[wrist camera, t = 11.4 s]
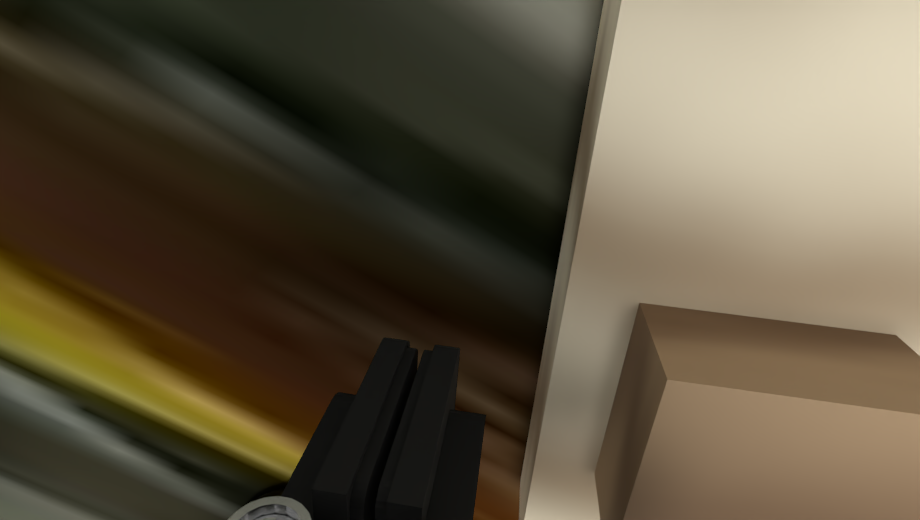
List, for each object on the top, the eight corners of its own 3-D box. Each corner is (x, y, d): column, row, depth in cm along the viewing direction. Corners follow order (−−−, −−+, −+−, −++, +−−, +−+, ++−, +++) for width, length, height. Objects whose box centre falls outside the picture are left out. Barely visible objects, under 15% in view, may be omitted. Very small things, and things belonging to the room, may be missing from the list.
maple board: (678, -431, 8) (735, -607, 6) (1602, -430, 7) (2122, -648, 5) (520, 481, 17) (518, 553, 14) (910, 543, 16) (974, 631, 13)
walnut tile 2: (639, 302, 11) (667, 379, 8) (896, 334, 10) (997, 425, 8) (594, 473, 13) (607, 571, 11) (803, 506, 12) (863, 615, 10)
